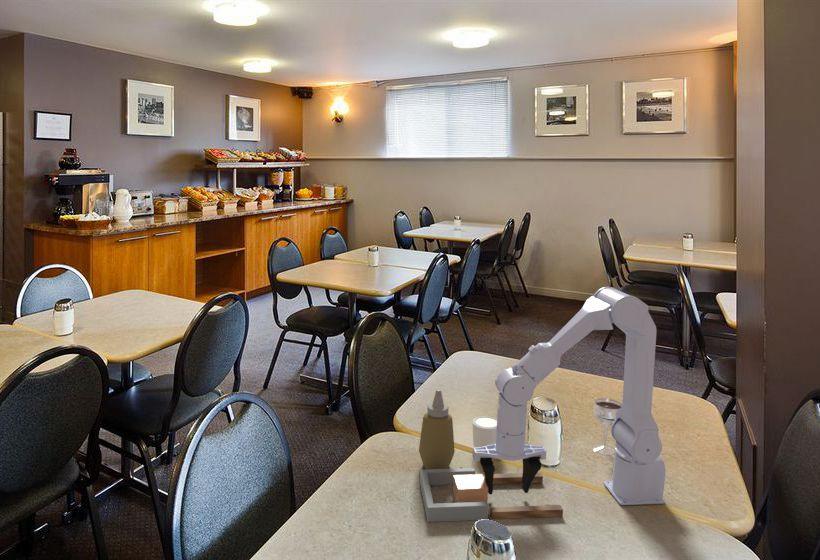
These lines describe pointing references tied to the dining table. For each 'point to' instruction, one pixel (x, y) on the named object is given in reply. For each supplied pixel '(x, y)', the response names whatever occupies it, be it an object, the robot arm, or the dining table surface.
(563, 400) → the dining table surface
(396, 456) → the dining table surface
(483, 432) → the white cup
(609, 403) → the wineglass
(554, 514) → the channel
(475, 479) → the block
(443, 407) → the squeeze bottle
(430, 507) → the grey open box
